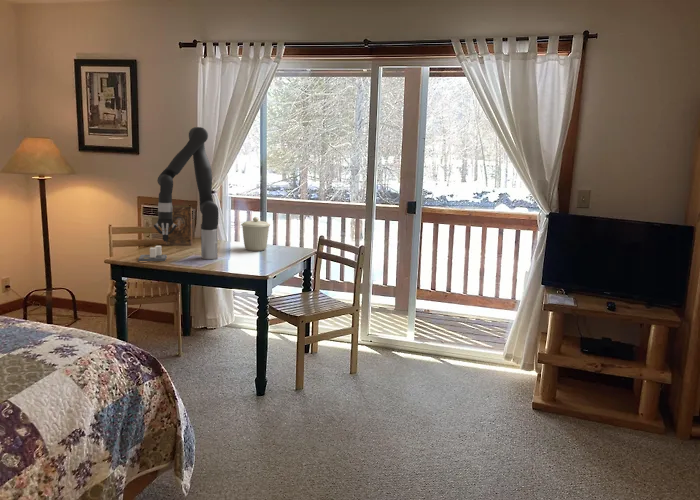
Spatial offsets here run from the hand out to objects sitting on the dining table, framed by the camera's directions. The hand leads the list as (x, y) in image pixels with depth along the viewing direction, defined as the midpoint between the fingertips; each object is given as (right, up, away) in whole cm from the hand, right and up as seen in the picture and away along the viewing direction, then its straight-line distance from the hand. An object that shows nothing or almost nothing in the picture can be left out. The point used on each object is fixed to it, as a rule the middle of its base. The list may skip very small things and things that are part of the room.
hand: (165, 241), depth 314 cm
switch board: (-8, -11, +3) cm, 14 cm away
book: (-7, -2, +49) cm, 49 cm away
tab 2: (-6, -8, +6) cm, 11 cm away
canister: (+43, -5, +44) cm, 62 cm away
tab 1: (-7, -9, 0) cm, 11 cm away
